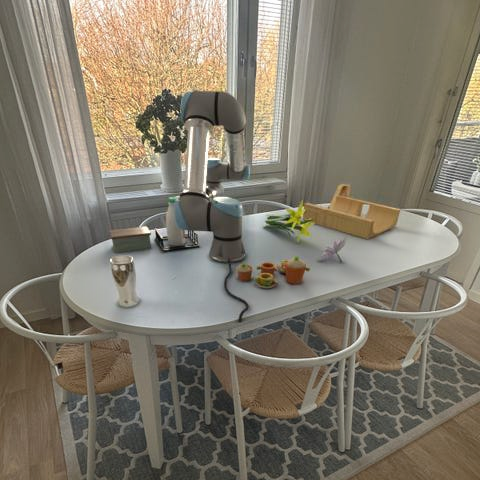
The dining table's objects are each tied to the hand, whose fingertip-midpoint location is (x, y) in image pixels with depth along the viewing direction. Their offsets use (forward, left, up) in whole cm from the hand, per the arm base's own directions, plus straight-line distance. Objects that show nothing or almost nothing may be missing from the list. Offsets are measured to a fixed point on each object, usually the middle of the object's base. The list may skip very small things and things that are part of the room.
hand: (185, 206), depth 156 cm
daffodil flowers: (-15, -44, -14) cm, 49 cm away
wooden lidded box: (-5, +26, -14) cm, 30 cm away
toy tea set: (-55, -16, -14) cm, 59 cm away
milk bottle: (-7, +7, -14) cm, 17 cm away
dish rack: (-7, +7, -14) cm, 17 cm away
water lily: (-47, -49, -14) cm, 69 cm away
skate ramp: (-9, -90, -14) cm, 92 cm away
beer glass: (-53, +35, -14) cm, 65 cm away
